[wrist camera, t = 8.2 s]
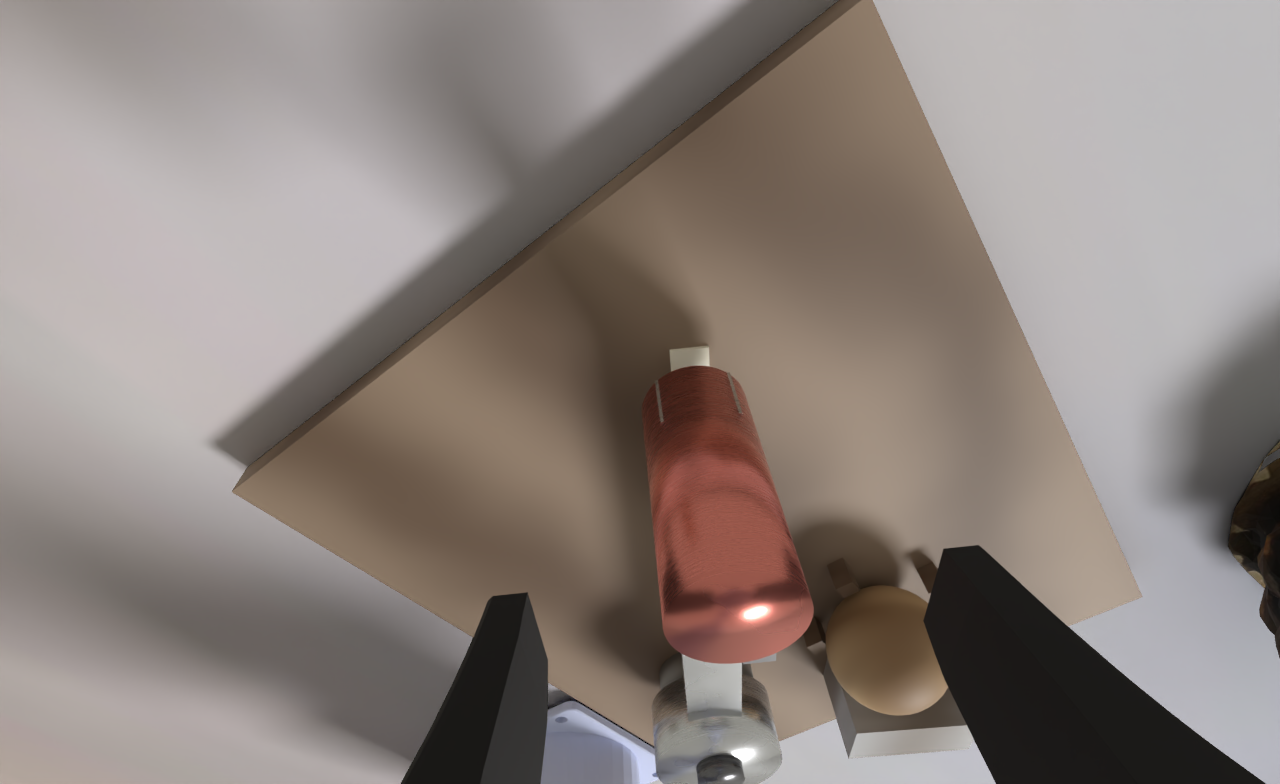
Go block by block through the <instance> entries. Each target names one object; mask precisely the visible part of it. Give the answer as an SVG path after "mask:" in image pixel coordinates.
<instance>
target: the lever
mask: <svg viewBox="0 0 1280 784" xmlns="http://www.w3.org/2000/svg"><path fill="white" fill-rule="evenodd" d="M642 421H643V431H644V441H645V451H646V462H647V472H648V482H649V492H650V502H651V513H652V523H653V533H654V543H655V553H656V564H657V574H658V584H659V594H660V604H661V615H662V625H663V631H664V635H665V637H666V639H667V641H668V642H669V644H670V645H671V646H672V647H673V648H674V649H675V650H677V651H678V652H680V653H681V659H682V670H683V678H680V679H678V680H676V681H674V682H672V683H670V684H668V685H667V686H665V687H664V688H663V689H661V690H660V691H659V692H658V693H657V695H656V696H655V698H654V700H653V702H652V706H651V707H652V722H653V736H654V750H655V763H656V773H657V776H658V778H659V780H660V781H661V782H662V783H664V784H758V783H760V782H762V781H764V780H766V779H767V778H769V777H770V776H772V775H773V774H774V773H775V772H776V771H777V770H778V768H779V767H780V765H781V762H782V754H781V749H780V745H779V740H778V736H777V732H776V727H775V723H774V718H773V714H772V710H771V705H770V701H769V696H768V693H767V690H766V688H765V687H764V686H763V684H762V683H760V682H759V681H758V680H756V679H754V678H752V677H750V676H747V675H744V674H742V663H743V664H751V663H761V662H770V661H776V653H777V652H779V651H781V650H783V649H785V648H786V647H788V646H790V645H791V644H792V643H794V642H795V641H796V640H798V639H799V638H800V637H801V636H802V635H803V634H804V632H805V631H806V630H807V628H808V627H809V625H810V623H811V621H812V618H813V613H814V606H813V602H812V599H811V596H810V592H809V589H808V586H807V583H806V580H805V577H804V574H803V571H802V568H801V565H800V562H799V559H798V556H797V552H796V549H795V546H794V543H793V540H792V537H791V534H790V531H789V528H788V525H787V522H786V519H785V516H784V512H783V509H782V506H781V503H780V500H779V497H778V494H777V491H776V488H775V485H774V482H773V479H772V476H771V473H770V469H769V466H768V463H767V460H766V457H765V454H764V451H763V448H762V445H761V442H760V439H759V436H758V433H757V429H756V426H755V423H754V420H753V417H752V414H751V411H750V408H749V405H748V402H747V399H746V396H745V393H744V390H743V388H742V387H741V385H740V383H739V382H738V381H737V380H736V379H735V378H734V377H733V376H731V374H730V372H729V373H727V372H725V371H723V370H720V369H717V368H714V367H709V366H689V367H683V368H680V369H677V370H674V371H672V372H670V373H668V374H666V375H664V376H663V377H661V378H660V379H659V380H655V383H654V384H653V385H652V387H651V388H650V389H649V391H648V392H647V394H646V396H645V398H644V401H643V404H642Z"/></svg>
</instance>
